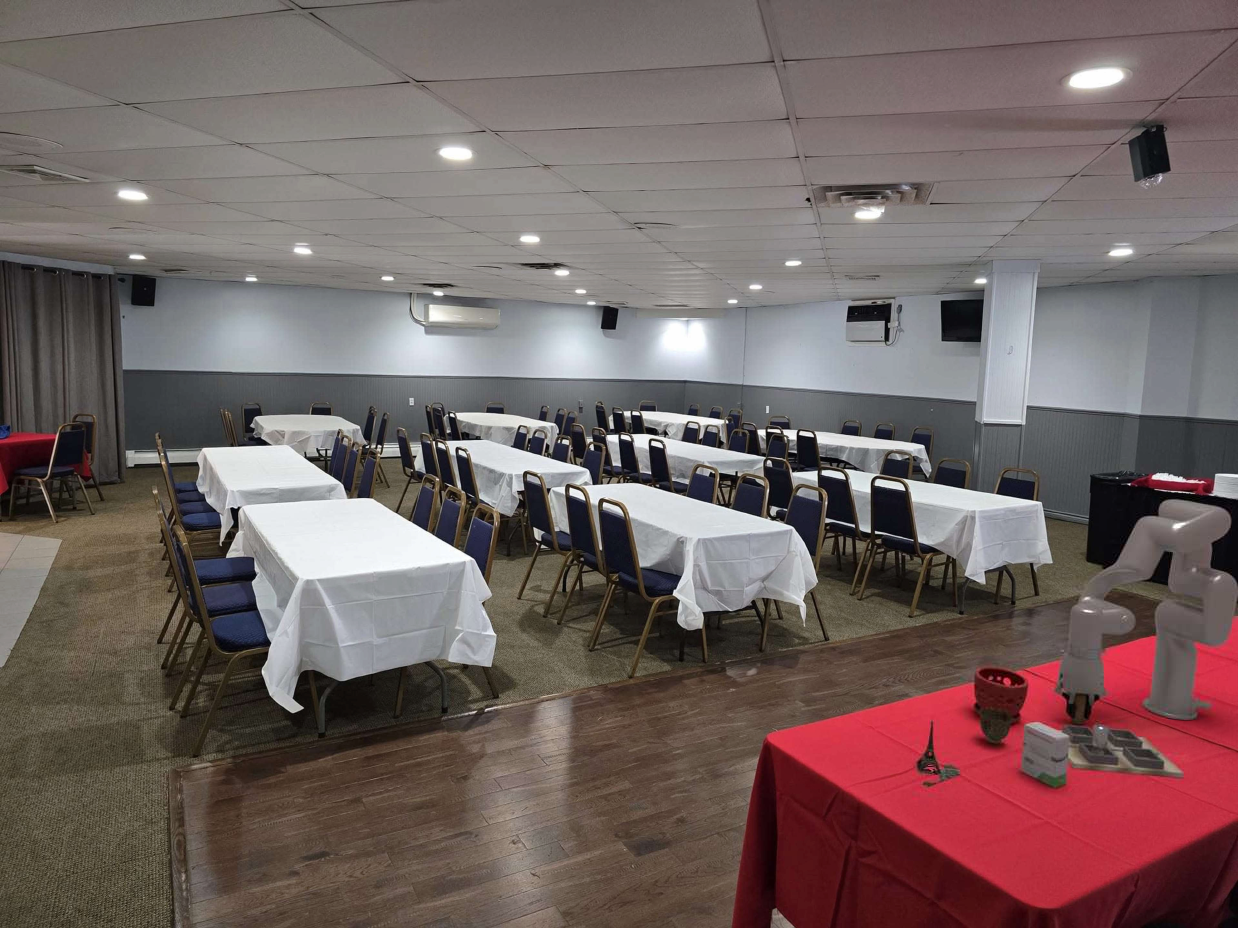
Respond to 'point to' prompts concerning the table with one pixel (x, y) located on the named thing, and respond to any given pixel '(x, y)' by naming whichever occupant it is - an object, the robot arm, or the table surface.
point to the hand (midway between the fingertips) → (1078, 716)
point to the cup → (995, 724)
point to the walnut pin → (1079, 709)
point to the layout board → (1116, 752)
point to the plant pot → (1000, 691)
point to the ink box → (1045, 754)
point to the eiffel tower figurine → (935, 763)
